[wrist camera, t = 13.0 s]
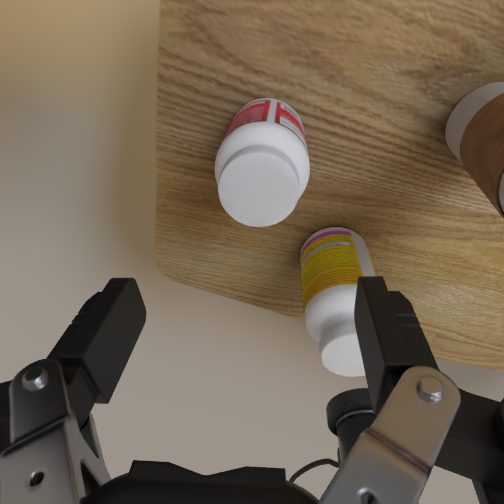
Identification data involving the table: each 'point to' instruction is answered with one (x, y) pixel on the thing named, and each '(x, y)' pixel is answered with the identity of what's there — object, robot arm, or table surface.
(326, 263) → the supplement bottle
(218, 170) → the pill bottle
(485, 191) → the coffee cup
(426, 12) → the table surface
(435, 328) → the table surface
